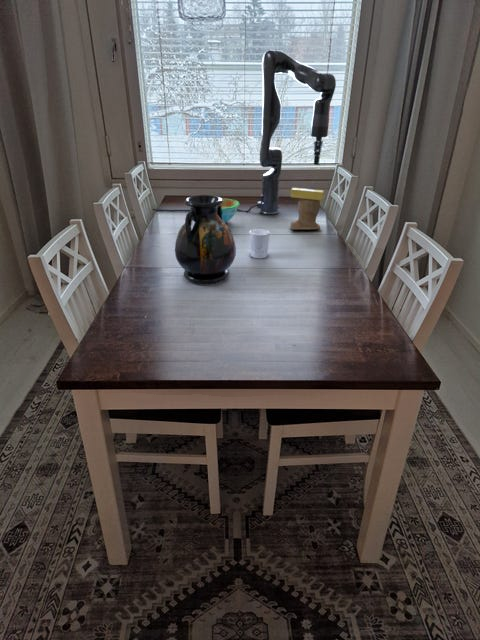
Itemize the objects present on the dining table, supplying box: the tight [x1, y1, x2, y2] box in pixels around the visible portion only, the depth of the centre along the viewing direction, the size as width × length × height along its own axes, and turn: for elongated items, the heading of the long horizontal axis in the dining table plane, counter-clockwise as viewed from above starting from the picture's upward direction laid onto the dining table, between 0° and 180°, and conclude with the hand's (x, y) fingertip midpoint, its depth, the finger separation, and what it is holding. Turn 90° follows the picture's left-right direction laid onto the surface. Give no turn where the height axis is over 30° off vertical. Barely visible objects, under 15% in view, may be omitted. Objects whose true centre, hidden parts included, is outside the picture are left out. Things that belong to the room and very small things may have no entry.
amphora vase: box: [174, 194, 237, 286], centre depth 143 cm, size 22×22×28 cm
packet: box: [290, 187, 325, 201], centre depth 193 cm, size 15×6×4 cm, turn 80°
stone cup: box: [289, 198, 321, 231], centre depth 198 cm, size 15×12×15 cm
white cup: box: [249, 228, 270, 259], centre depth 166 cm, size 8×8×10 cm
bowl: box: [220, 197, 240, 224], centre depth 207 cm, size 22×22×10 cm
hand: (316, 163), depth 193 cm, fingers open, 8 cm apart
